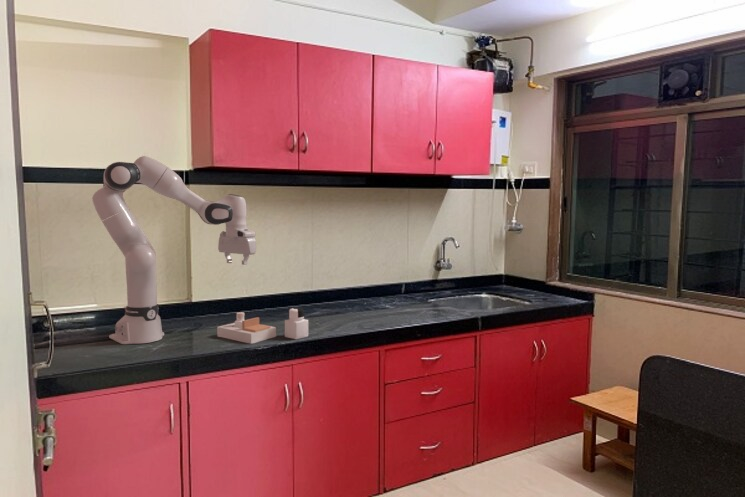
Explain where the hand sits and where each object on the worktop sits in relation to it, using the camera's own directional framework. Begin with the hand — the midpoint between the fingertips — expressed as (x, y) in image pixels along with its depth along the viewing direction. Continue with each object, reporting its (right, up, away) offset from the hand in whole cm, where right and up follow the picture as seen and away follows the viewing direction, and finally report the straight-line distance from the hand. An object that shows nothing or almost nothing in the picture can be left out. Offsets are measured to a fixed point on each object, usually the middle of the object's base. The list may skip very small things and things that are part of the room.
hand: (236, 263), depth 241 cm
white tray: (+6, -30, -9) cm, 32 cm away
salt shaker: (+3, -30, -7) cm, 31 cm away
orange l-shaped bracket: (+11, -26, -12) cm, 31 cm away
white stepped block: (+27, -31, -8) cm, 42 cm away
